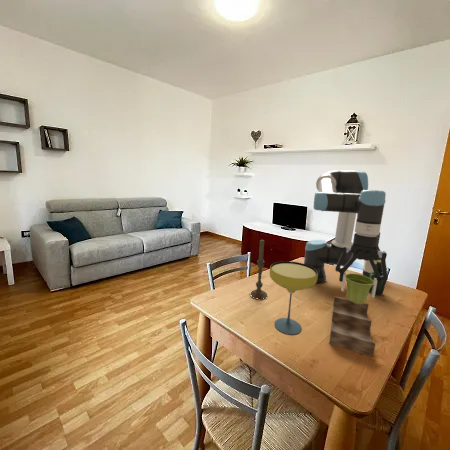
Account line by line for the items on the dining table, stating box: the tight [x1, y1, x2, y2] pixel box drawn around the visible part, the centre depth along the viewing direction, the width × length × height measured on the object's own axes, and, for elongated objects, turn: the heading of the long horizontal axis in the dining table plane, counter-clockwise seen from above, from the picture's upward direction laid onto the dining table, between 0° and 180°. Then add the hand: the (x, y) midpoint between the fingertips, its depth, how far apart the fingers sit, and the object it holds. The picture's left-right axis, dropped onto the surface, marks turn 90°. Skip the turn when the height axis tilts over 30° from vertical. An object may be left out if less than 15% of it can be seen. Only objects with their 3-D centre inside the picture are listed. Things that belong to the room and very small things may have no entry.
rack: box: [329, 295, 376, 357], centre depth 99 cm, size 14×30×5 cm, turn 154°
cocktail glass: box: [269, 260, 318, 336], centre depth 97 cm, size 18×18×25 cm
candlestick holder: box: [250, 239, 268, 300], centre depth 121 cm, size 9×9×30 cm
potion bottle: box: [369, 260, 388, 296], centre depth 129 cm, size 8×8×18 cm
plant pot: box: [345, 273, 374, 304], centre depth 89 cm, size 9×9×9 cm
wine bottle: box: [362, 232, 381, 277], centre depth 149 cm, size 8×8×30 cm
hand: (357, 292), depth 89 cm, fingers closed on plant pot, 9 cm apart
